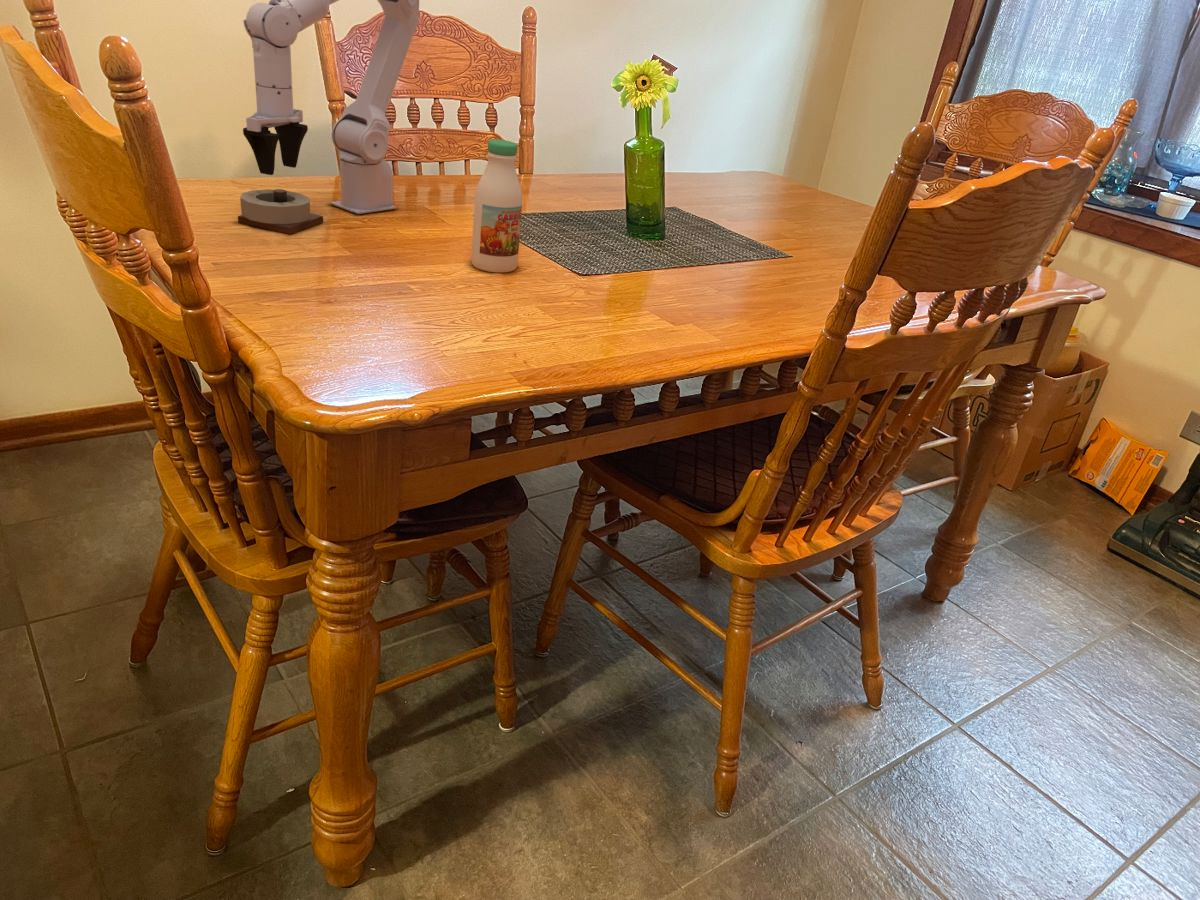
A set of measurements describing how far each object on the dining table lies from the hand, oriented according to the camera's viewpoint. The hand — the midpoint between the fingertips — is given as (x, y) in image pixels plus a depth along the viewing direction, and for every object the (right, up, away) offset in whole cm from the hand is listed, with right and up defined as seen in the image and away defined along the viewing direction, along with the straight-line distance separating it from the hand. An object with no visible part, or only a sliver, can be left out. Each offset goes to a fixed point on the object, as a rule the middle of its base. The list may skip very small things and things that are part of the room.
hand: (278, 170), depth 143 cm
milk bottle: (+38, -18, -5) cm, 42 cm away
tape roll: (0, -8, 0) cm, 8 cm away
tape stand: (0, -9, 0) cm, 9 cm away
